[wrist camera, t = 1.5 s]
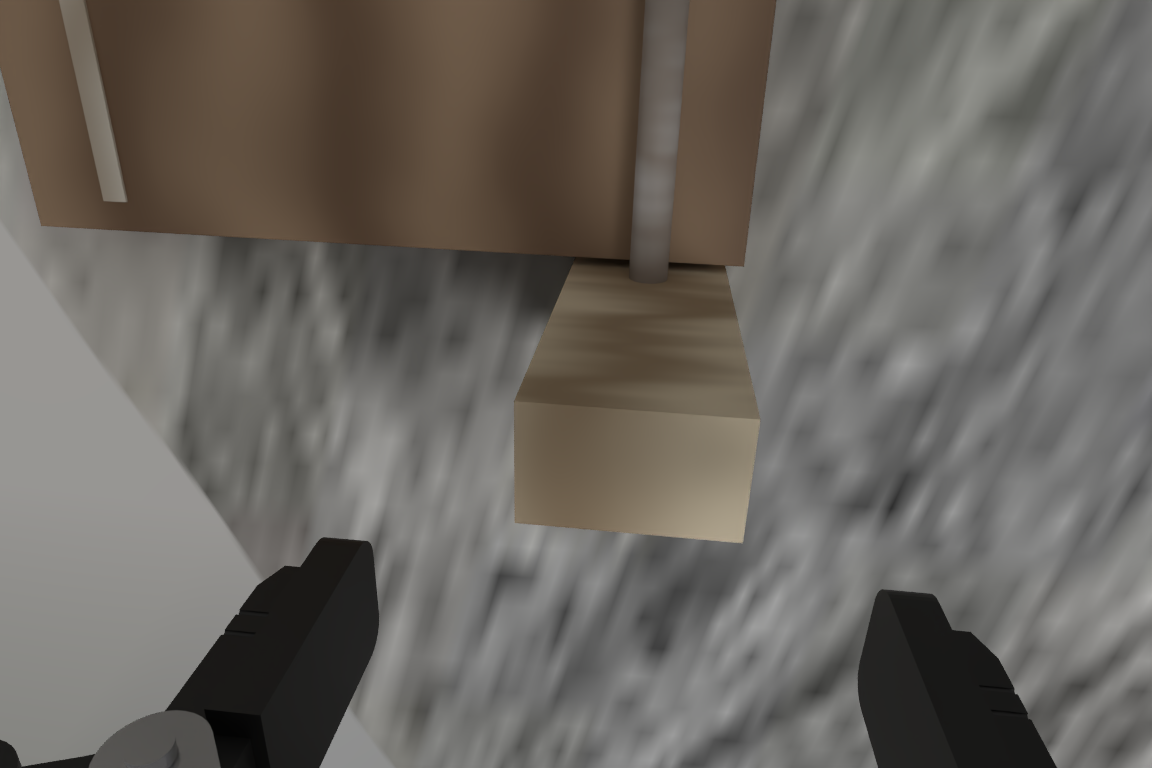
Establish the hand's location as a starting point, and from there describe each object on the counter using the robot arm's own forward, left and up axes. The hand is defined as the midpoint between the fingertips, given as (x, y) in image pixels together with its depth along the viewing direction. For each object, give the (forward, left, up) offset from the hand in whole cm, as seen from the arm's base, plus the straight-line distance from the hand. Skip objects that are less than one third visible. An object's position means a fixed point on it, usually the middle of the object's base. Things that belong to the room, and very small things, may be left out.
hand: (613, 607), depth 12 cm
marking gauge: (0, -5, -16) cm, 17 cm away
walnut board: (+9, -8, -17) cm, 20 cm away
